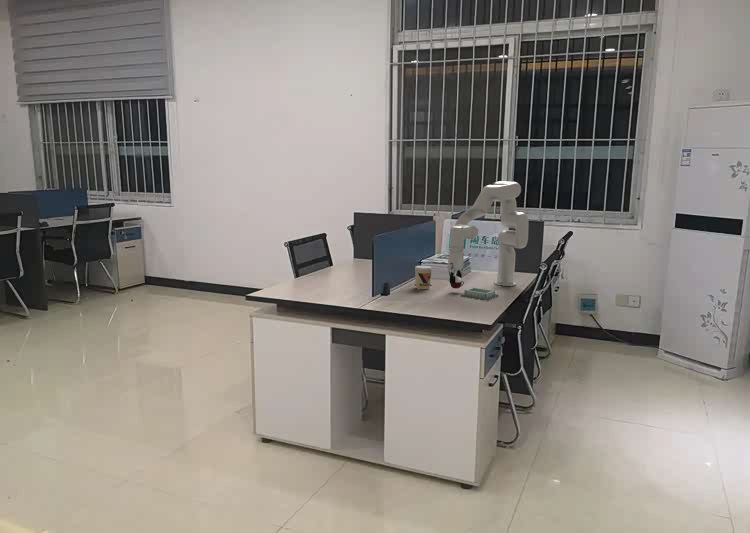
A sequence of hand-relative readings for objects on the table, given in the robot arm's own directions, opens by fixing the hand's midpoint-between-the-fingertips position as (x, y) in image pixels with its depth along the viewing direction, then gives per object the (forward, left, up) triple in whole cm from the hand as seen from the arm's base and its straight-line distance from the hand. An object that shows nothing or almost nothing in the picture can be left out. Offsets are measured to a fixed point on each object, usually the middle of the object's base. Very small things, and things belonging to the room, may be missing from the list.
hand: (455, 281), depth 311 cm
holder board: (+1, +15, -6) cm, 16 cm away
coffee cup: (+4, -18, -6) cm, 19 cm away
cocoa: (0, 0, -3) cm, 3 cm away
